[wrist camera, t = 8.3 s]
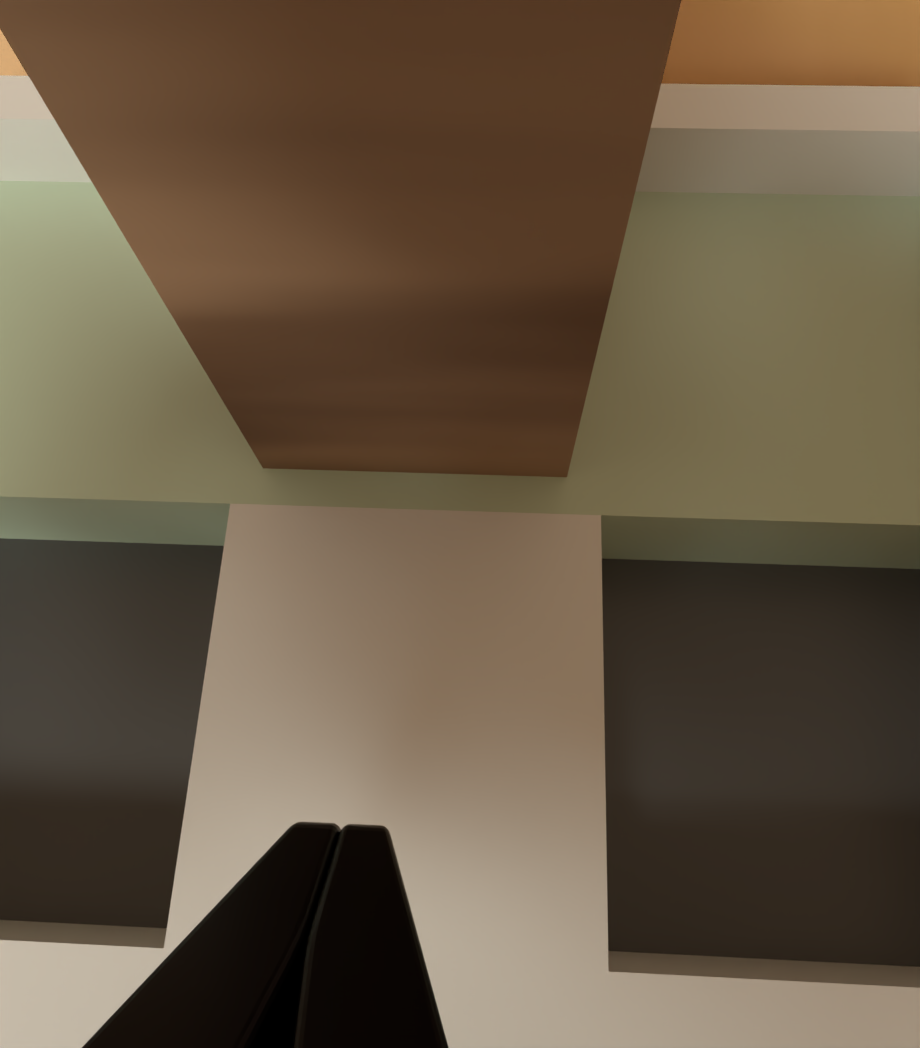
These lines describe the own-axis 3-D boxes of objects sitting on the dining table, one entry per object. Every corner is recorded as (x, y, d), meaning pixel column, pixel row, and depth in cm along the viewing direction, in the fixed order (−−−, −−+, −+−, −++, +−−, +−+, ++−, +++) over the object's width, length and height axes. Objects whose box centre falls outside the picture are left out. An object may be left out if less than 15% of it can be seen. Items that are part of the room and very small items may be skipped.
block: (566, 477, 14) (757, -316, 4) (263, 468, 14) (-200, -309, 4) (566, 227, 15) (700, -730, 6) (296, 222, 16) (14, -710, 6)
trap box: (1178, 1583, 11) (1551, 1987, 7) (-392, 1462, 12) (-813, 1765, 8) (929, 243, 18) (1046, 88, 14) (-21, 225, 19) (-146, 74, 15)
